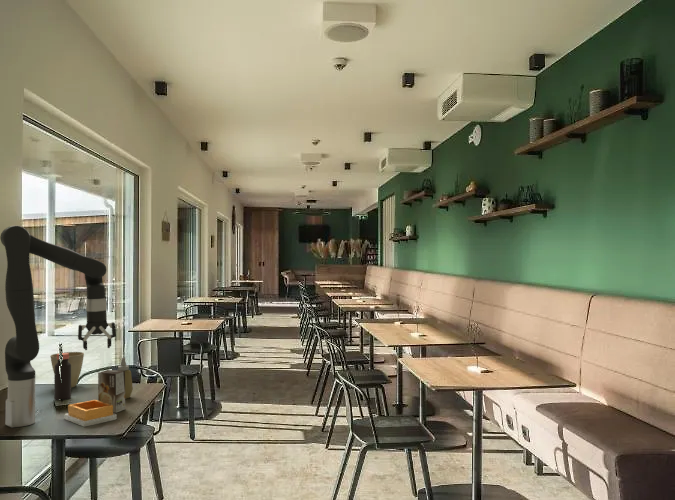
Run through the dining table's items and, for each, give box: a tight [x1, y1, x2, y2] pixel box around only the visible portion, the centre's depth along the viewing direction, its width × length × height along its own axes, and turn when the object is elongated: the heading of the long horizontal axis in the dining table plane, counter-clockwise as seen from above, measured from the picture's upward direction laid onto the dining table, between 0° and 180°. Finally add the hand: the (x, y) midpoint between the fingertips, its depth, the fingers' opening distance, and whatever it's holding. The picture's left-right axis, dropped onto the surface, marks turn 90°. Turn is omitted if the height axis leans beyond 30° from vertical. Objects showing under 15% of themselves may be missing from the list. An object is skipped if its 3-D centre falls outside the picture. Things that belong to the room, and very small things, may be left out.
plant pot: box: [50, 351, 85, 389], centre depth 282 cm, size 15×15×16 cm
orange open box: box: [63, 399, 118, 428], centre depth 225 cm, size 13×16×6 cm
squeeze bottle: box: [117, 357, 134, 400], centre depth 259 cm, size 8×8×18 cm
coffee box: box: [97, 369, 126, 414], centre depth 238 cm, size 9×6×16 cm
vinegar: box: [53, 352, 72, 401], centre depth 258 cm, size 7×7×20 cm
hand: (97, 348), depth 236 cm, fingers open, 8 cm apart
